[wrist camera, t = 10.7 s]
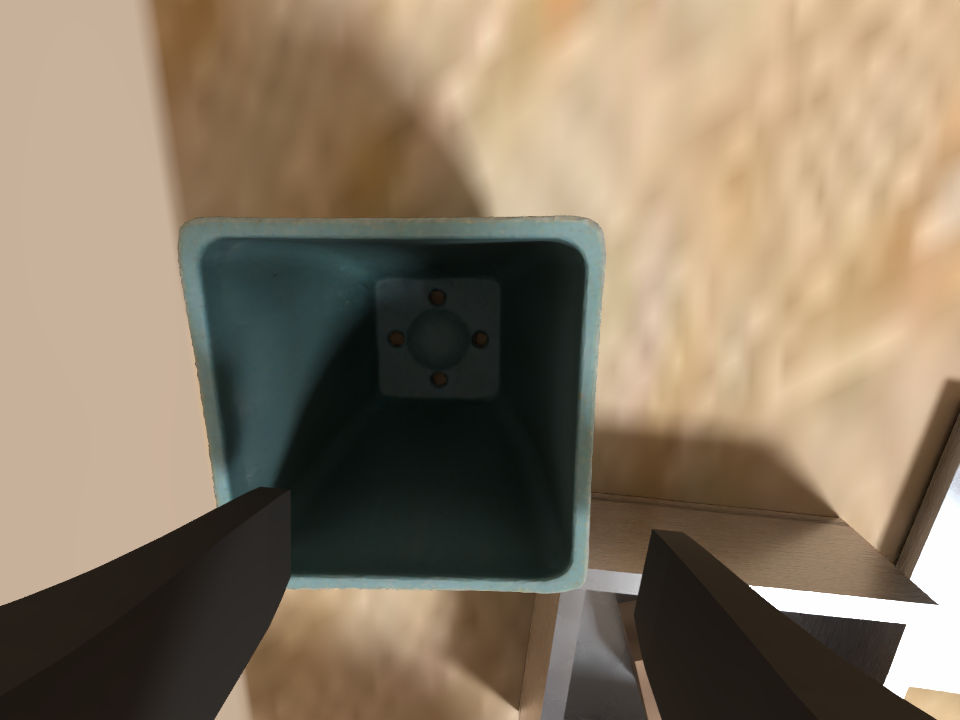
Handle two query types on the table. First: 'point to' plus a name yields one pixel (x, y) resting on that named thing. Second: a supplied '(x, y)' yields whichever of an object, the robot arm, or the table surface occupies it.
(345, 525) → the flower pot
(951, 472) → the lid
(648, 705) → the copper block
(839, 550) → the tin
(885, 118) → the table surface
